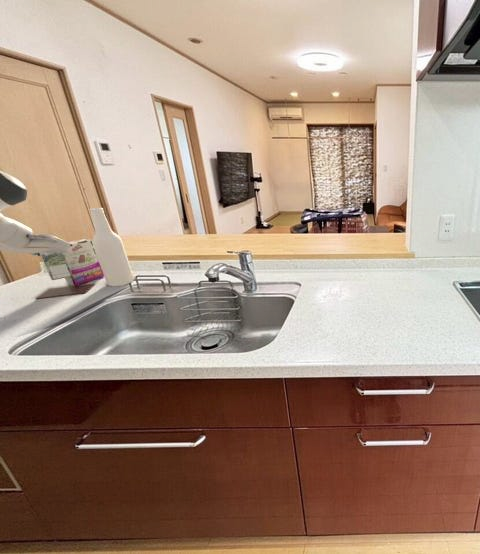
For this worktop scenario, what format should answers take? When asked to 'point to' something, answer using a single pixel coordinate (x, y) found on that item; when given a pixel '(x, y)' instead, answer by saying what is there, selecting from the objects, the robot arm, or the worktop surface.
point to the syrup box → (56, 265)
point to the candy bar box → (83, 263)
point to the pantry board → (66, 291)
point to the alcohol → (110, 251)
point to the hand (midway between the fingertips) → (53, 254)
